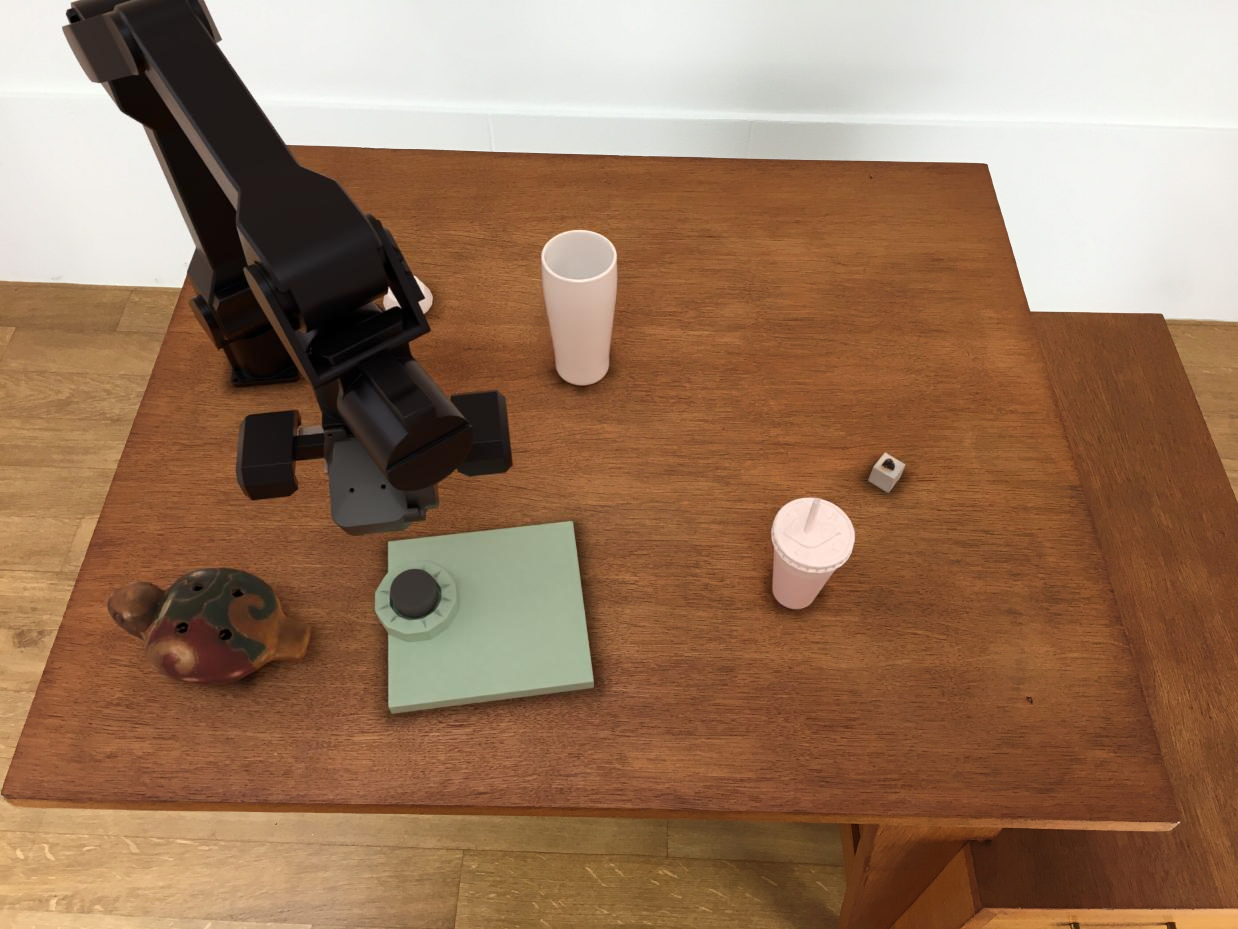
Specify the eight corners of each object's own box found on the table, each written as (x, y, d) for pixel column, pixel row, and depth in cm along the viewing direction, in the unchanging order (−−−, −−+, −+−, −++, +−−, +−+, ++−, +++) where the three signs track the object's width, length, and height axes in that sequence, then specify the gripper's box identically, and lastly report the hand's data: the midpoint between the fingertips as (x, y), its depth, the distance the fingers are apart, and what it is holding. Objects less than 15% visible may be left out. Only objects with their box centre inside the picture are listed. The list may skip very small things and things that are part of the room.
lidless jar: (405, 329, 99) (442, 303, 101) (400, 309, 97) (438, 283, 99) (375, 305, 101) (412, 280, 103) (369, 284, 98) (407, 259, 101)
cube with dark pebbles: (867, 481, 89) (873, 465, 87) (879, 466, 90) (885, 450, 88) (888, 493, 88) (895, 477, 86) (899, 478, 89) (906, 462, 87)
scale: (381, 715, 76) (374, 701, 73) (382, 550, 84) (375, 532, 82) (594, 688, 77) (593, 673, 75) (573, 528, 86) (572, 510, 83)
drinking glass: (608, 399, 94) (609, 287, 82) (541, 388, 95) (531, 275, 82) (622, 348, 98) (624, 234, 86) (557, 337, 99) (550, 223, 86)
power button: (393, 621, 77) (389, 611, 76) (393, 581, 79) (389, 571, 78) (439, 615, 78) (436, 605, 76) (437, 576, 80) (434, 566, 78)
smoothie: (750, 559, 84) (774, 467, 72) (823, 554, 84) (857, 462, 73) (763, 626, 80) (789, 541, 69) (839, 621, 81) (878, 535, 69)
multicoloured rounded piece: (150, 592, 81) (119, 540, 75) (332, 604, 82) (316, 553, 76) (110, 700, 75) (73, 653, 69) (306, 712, 76) (287, 666, 70)
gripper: (195, 497, 57) (269, 613, 70) (511, 463, 59) (526, 581, 72) (212, 355, 63) (277, 485, 76) (497, 328, 65) (513, 459, 78)
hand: (397, 504), depth 75 cm, fingers closed
